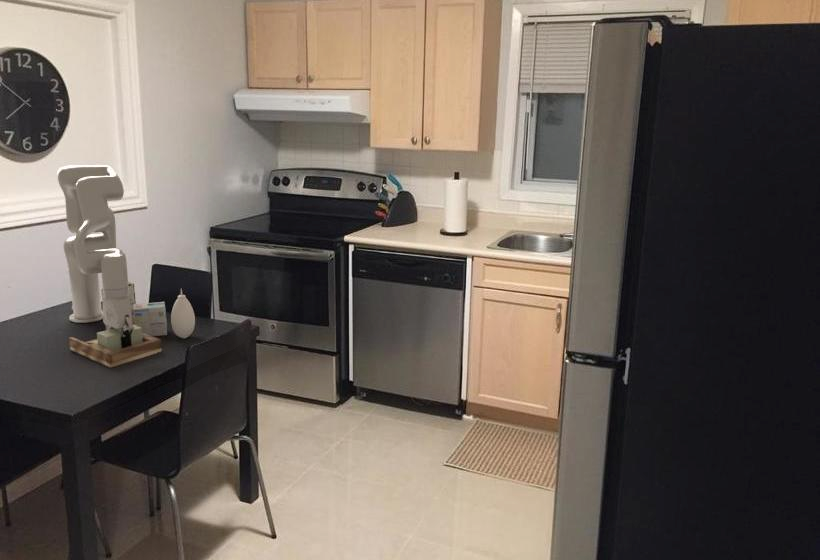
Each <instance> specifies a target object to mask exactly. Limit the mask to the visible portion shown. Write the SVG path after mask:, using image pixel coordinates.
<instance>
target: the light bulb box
mask: <svg viewBox="0 0 820 560" xmlns="http://www.w3.org/2000/svg"><path fill="white" fill-rule="evenodd" d="M133 315H134V325H136V326H138V327H141V328H142V333H145V334H147V335H150V336H153V337H158V336H159V337H160V336H167V335H168V321H167V310H166V302H165V301H158V302H149V303H148V302H147V303H146V302H145V303H136V304H134V306H133Z"/></svg>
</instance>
